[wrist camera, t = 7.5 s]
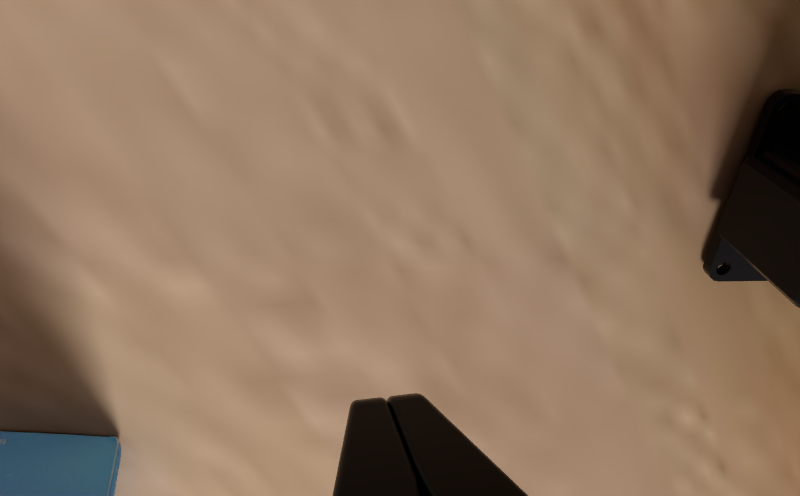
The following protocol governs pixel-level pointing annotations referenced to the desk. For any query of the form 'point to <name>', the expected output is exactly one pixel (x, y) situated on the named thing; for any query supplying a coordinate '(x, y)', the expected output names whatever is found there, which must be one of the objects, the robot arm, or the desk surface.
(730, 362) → the desk surface
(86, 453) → the ink box
